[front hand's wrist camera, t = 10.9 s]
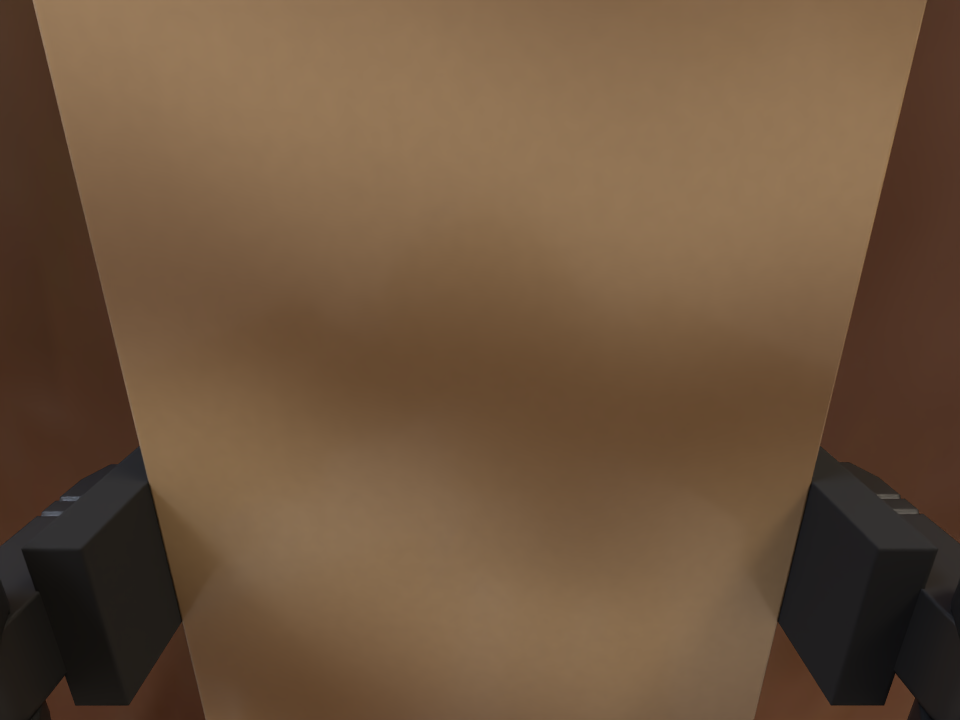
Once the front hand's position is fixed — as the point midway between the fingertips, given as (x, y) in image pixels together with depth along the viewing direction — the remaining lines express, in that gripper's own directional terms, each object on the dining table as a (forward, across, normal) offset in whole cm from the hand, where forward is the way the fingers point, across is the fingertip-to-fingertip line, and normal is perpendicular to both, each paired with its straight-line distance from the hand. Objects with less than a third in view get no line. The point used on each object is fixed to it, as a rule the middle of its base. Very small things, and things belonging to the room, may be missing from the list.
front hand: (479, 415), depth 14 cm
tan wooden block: (+4, 0, -4) cm, 5 cm away
